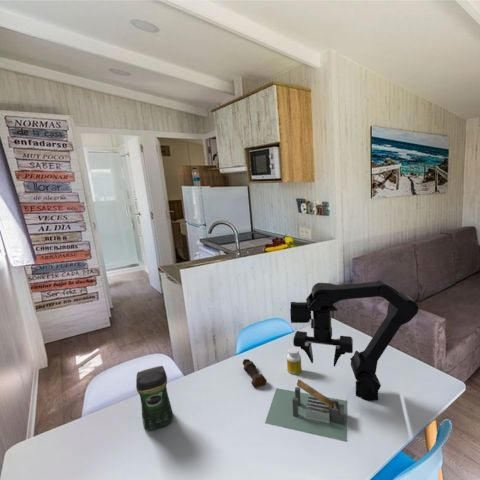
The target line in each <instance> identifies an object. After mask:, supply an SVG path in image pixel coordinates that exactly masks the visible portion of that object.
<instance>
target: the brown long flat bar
mask: <svg viewBox="0 0 480 480" xmlns="http://www.w3.org/2000/svg"><path fill="white" fill-rule="evenodd" d="M296 387H299V388H300V390H302V391H304V392H305V393H307V394H310V395H312V396H313V397H315V398H317V399H318V400H320V401H321V402H323V403H324V404H326V405H327V406H329V407H330V408H334V409H337V403H336V402H333V401H331V400H330V399H328V398H327V397H328V396H325V395H324V394H322V393H320V391H318V390H316V389H314V388H313V387H311V386H310V385H309V384H308V383H306V382H304V381H303V380H301V379H298V380H297V382H296Z"/></svg>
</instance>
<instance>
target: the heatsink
mask: <svg viewBox="0 0 480 480" xmlns="http://www.w3.org/2000/svg"><path fill="white" fill-rule="evenodd" d="M330 410H331V408H330V407H329V406H327V405H326V404H324V403H323V402H321V401H320V400H318V399H317V398H315V397H313V396H309V395H308V402H307V405H306V420H308V421H313V422H317V423H322V424H327V425H329V423H330Z"/></svg>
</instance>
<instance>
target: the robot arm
mask: <svg viewBox="0 0 480 480" xmlns="http://www.w3.org/2000/svg"><path fill="white" fill-rule="evenodd" d="M374 297H375V298H378V297H382V298H384V299H385V300H386V301H387V302H388V305H387V311H386V316H385V318H384V320H382V322H381V324H380V326H379V327H378V329H377V330H376V331H375V333H374V335H373V336H372V337H371V339H370V341H369V343H368V344H367V346H366V347H365V349H364V350H361V351H360V352H359V351H358V350H355V351H354V347H353V345H354V343H353V341H354V340H353V338H352V336H347V335H340V336H339V338H332V337H333V327H332V312H337V311H338V306H337V305H336V304H337V303H338V302H341V301H345V300H353V299H354V300H355V299H364V298H365V299H366V298H374ZM289 310H290V313H289V314H290V324H309V323H310V329H313V336H308V332H307V331H299V330H297V331H296V332H295V333H294V336H293V340H292V342H293V346H294V347H295V348H300V349H301V350H303V351H304V353H305V354H306V356H307V357H308V359H309V361H310V363H311V364H314V354H313V347H312V344H317V345H326V346H335V350H334V357H333V367H336V365H337V363H338V360H340V358H341V356H342V355H346V354H352V353H354V354H353V356H352V357H350V367H351V369H352V372H353V375H354V376H353V377H354V379H355V380H356V381H355V397H358V398H360V399H362V400H364V401H366V402H374V401H379V391H380V388H381V386H382V385H381V382H380V380H379V378H378V375H377V374H376V373H377V367H378V361H379V360H380V358H381V357H382V355H383V354H384V352H385V350H386V349H387V347H388V346H389V344H390V343H391V341H393V339H394V337H395V335H396V334H397V332H398V331H399V330H400V328H401V327H402V326H404V325H405V324H407V323H410V322H411V321H412V320H413V319H414V317H415V316H416V315H417V314H418V312H419V305H418V303H417V302H416V301H415V300H414V299H413V298H412V297H411V296H410V295H409V294H407V293H405V292H403V291H402V292H399V291H398V290H397V289H395V288H394V287H393V286H391V285H389V284H388V283H387V282H386V281H384V280H381V279H380V280H377V281H369V282H358V283H349V284H334V283H330V282H317V283H315V284H314V285H313V286H312V288H311V292H310V293H309V294H308V296H307V298H306V299H305V301H304V302H303V301H302V302H300V301H299V302H296V301H290V309H289Z"/></svg>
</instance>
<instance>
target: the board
mask: <svg viewBox="0 0 480 480" xmlns="http://www.w3.org/2000/svg"><path fill="white" fill-rule="evenodd" d="M308 395H309V396H312V395H310V394H309V393H307V392H301V391H300V396H301V405H300V406H298V417H295V416H293V402H292V399H293V397H295V390H290V389H283V388H280V387H279V388H278V387H276V389H275V392H274V395H273V397H272V401H271V404H270V406H269V410H268V413H267V416H266V418H265V421H264V424H266V425H271V426H277V427H279V428H280V427H281V428H284V429H288V430H293V431H298V432H303V433H307V434H311V435H316V436H319V437H325V438H329V439H334V440H336V441H337V440H338V441H342V442H347V441H348V401H347V400H344V399H341V398H340V399H338V398H334V397H329V396H326V397H327V398H328V399H330V400H331V401H332V400H337V401H339V404H342V405H344V425H343V424H339V423H335V422H331V410H330V423H329V425H327V424H322V423H317V422H313V421H308V420H306V405H307V402H308Z"/></svg>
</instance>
